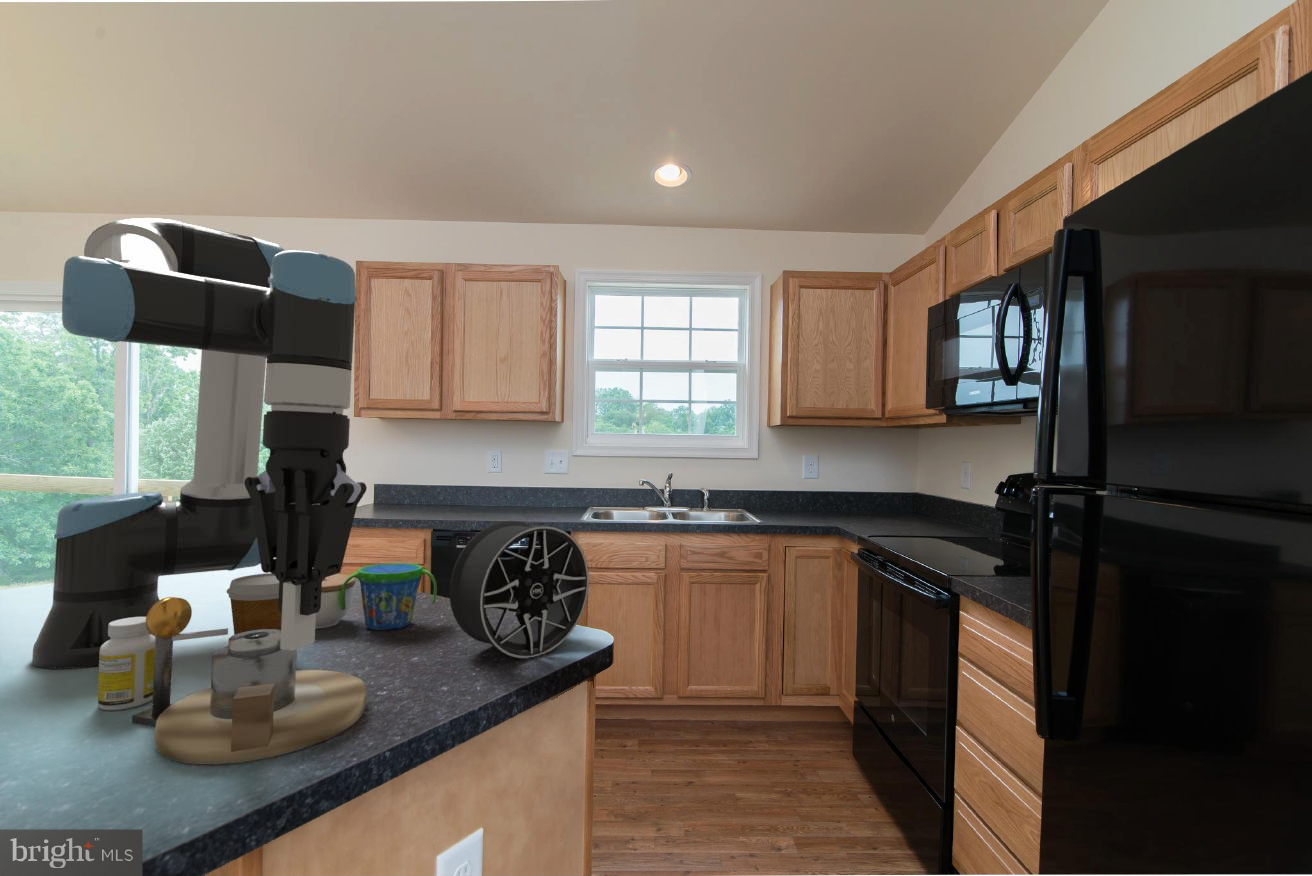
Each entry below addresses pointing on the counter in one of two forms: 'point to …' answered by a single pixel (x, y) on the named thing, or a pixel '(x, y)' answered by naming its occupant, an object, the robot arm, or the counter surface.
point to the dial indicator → (167, 650)
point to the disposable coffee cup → (255, 603)
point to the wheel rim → (521, 588)
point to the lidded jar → (334, 600)
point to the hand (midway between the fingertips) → (297, 645)
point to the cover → (252, 670)
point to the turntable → (261, 720)
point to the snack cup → (388, 593)
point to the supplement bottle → (126, 665)
